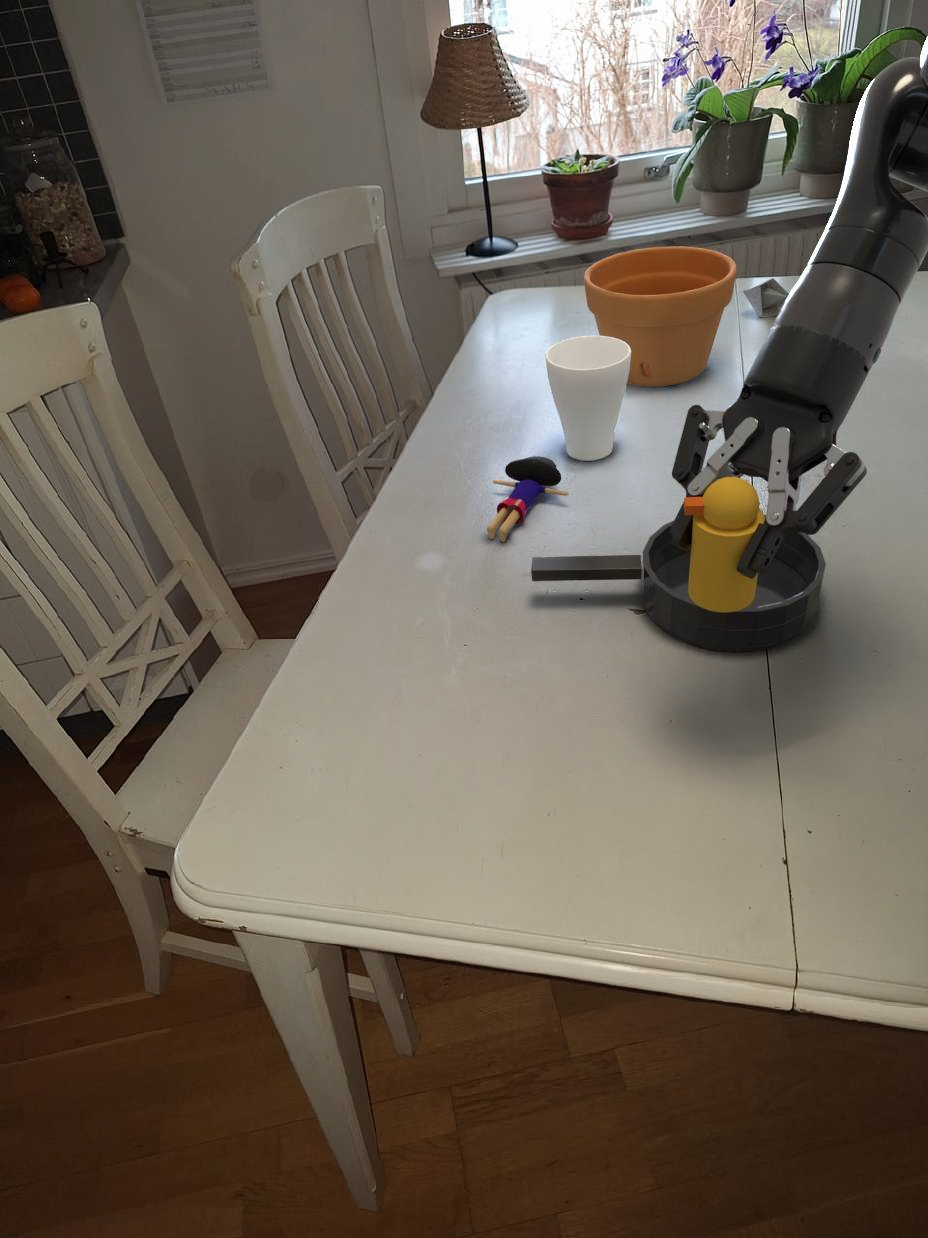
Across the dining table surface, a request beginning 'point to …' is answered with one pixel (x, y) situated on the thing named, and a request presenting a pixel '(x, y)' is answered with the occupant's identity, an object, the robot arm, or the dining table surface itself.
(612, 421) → the cup
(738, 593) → the yellow duck figurine
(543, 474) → the toy
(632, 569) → the pan handle
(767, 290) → the paper boat
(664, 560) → the pan
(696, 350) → the flower pot
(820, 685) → the dining table surface
